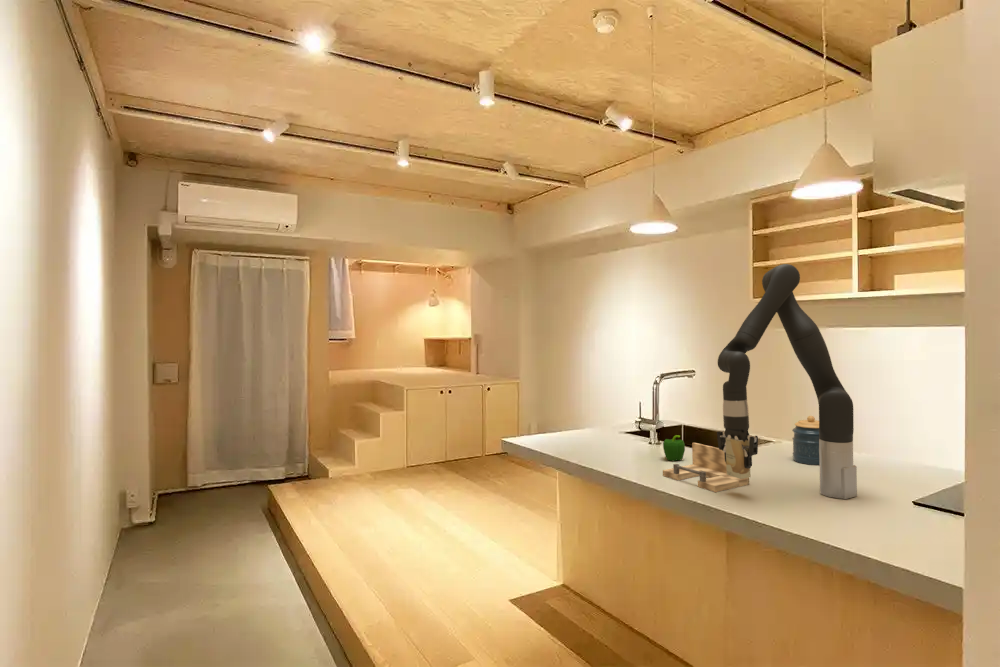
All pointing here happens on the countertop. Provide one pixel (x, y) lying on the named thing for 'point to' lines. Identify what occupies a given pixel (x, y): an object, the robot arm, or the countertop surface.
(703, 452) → the wooden stand with handle
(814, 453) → the canister
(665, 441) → the bell pepper
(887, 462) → the countertop surface
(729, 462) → the skincare box
